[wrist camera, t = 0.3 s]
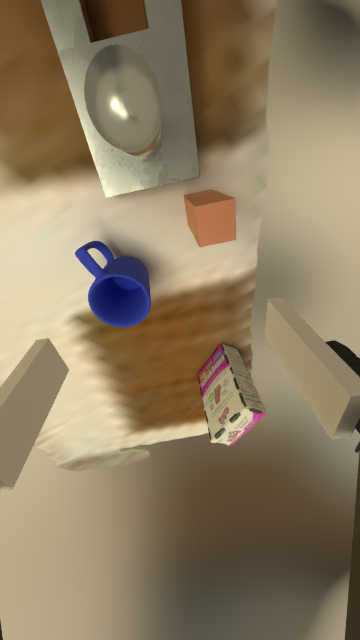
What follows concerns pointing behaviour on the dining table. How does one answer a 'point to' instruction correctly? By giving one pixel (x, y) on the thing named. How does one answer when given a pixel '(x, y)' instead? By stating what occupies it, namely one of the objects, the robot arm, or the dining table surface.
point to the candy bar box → (228, 396)
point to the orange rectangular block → (211, 217)
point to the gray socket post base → (130, 95)
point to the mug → (117, 287)
